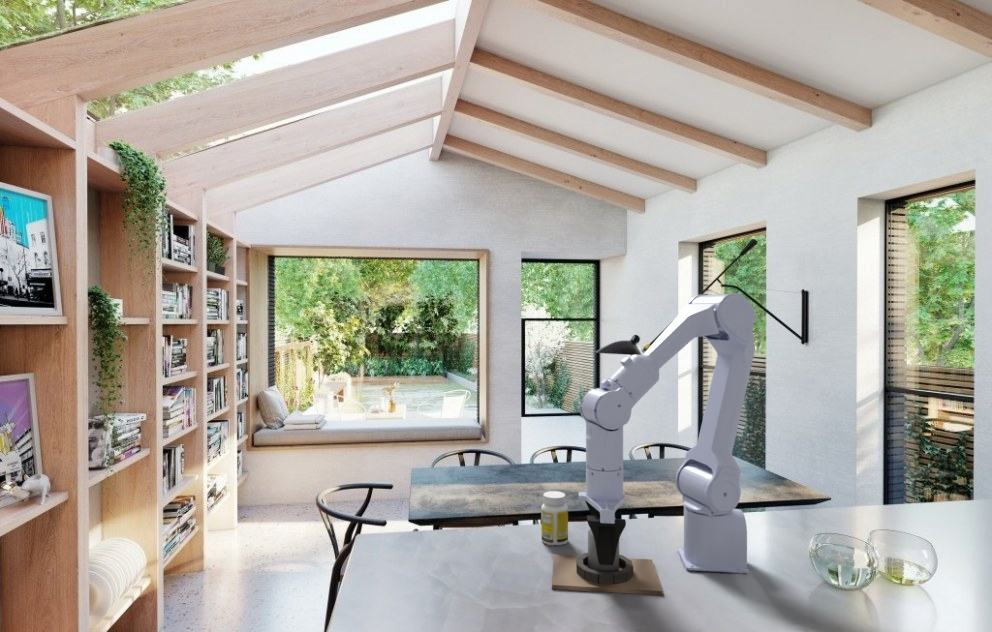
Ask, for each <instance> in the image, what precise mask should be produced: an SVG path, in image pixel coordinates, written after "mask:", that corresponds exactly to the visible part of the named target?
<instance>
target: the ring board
mask: <svg viewBox="0 0 992 632" xmlns="http://www.w3.org/2000/svg"><path fill="white" fill-rule="evenodd" d="M552 561H553V562H552V575H551V577H552V578H551V589H552V590H562V589H570V590H569V591H580V592H581V591H583V592H599V593H600V592H601V593H614V594H615V593H617V594H620V593H621V594H635V595H637V594H639V595H653V596H664V595H663V594H664V592H663V588H662V584H661V582H660V579H659V576H658V574H657V570H656V567H655V566H654V565H655V564H654V562H653V559H648V558H647V559H646V558H629V557H627V556H625V555H622V554H620V553H619V571H615V572H600V571H596V570H593V569H589V568H588V552H584V553H582V554H580V555H569V554H568V555H565V554H553V560H552Z"/></svg>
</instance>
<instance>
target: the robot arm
mask: <svg viewBox="0 0 992 632" xmlns="http://www.w3.org/2000/svg"><path fill="white" fill-rule="evenodd" d="M756 317H757V312H756V310H755V309H754V308H753V306H752V304H751V303H750V302H749V300H748V299H747V298H746V297H745V296H744V295H742V294H741V293H736V292H731V293H727V294H726V293H725V294H724V293H723V294H708V295H707V294H697V295H695V296H693V297H691V298H690V300H689V301H688V303H686V304H685V305H683V306H682V307H680V309H679V312H678V315H676V317H675V318H674V319H673V320H672V321H671V322H670V324H669V325H667V327H666V328H665V329H664V330H663V331H662V333H660V335H659V336H658V337H657V338H656V339H655V340H654V342H653V343H652V344H651V345H650V346H649V347H648V348H647V349H646V350H645V351H644V353H643V354H631V355H630V356H624V357H623V358H622V359H621V360H620V362H619V363H620V364H621V365H620V366H619V367H618V368H617V369H616V370H615V371H614V372H613V373H612V374H611V375H610V376H609V377H608V378H607V379H606V378H604V379H603V380H602V381H601V382H600V383H599V385H600V387H597V388H593V389H590V390H589V391H588V392H587V393H586V394H585V395H584V397H583V399H582V400H583V401H582V402H581V404H580V405H579V406H578V407H579V412H580V416H581V417H582V418H583V419H584V421H585V424H586V425H585V491H580V492H578V500H579V501H584V502H585V504H586V506H587V508H588V511H589V514H590V515H588V514H587V515H586V519H587V520H586V521H587V525H588V526H589V530H590V529H591V531H592V533H593V536H594V540H595V545H596V552H597V558H598V562H599V564H600V565H613V563H614V560H615V555H616V550H617V545H618V541H619V542H620V538H621V535H622V533H623V531H624V529H625V528H626V526H627V525H626V524H627V521H626V519H625V518H616V515H617V512H618V510H619V509H620V507H621V506H622V505H623V504H624V503H625V494H624V426H625V425H627V424H628V423H629V421H630V419H631V415H632V410H633V407H634V406H635V405H637V403H638V402H639V401H640V400H641V399H642V398H643V397H644V396H645V395H646V394H647V393H648V392H649V391H650V390H651V389H652V388H653V387H654V386H655V385H656V384H657V382H659V380H660V370H661V368H662V367H663V366H665V365H666V364H667V363H668V362H669V361H670V360H671V359H672V358H673V357H675V356H676V355H677V354H678V353H679V352H680V351H681V350H682V349H684V347H686V346H687V345H688V344H689V343H690V342H692V340H694V339H695V338H700V337H703V338H704V339H706V341H708V342H709V343H710V345H711V346H712V348H713V349H714V351H715V352H716V354H717V356H716V360H715V365H714V368H713V374H712V378H711V382H710V386H709V392H708V395H707V400H706V403H705V409H704V412H703V417H702V422H701V425H700V431H699V435H698V440H697V444H696V445H695V446H693V447H692V448H690V449H689V450H688V451H687V452H686V453H685V457H684V460H683V461H682V464H681V465H680V466H679V468H678V469H677V471H676V473H675V478H674V479H675V481H674V482H675V487H676V489H677V491H678V492H679V493H680V494H681V495H682V503H683V547H678V548H677V553H678V555H679V557H680V559H681V561H682V563H683V566H684V567H685V569H686V570H687V571H696V572H698V571H700V572H715V573H717V572H719V573H720V572H721V573H734V574H735V573H737V574H748V573H749V569H748V527H747V520H746V517H745V514H744V512H743V510H742V509H740V508H739V509H738V508H736V507H737V506H738V505H739V502H740V500H741V496H742V495H741V494H742V493H741V489H742V488H741V484H740V476H741V468H740V466H739V465H738V463H737V461H736V459H735V458H734V456H733V450H734V447H735V446H734V445H735V441H736V437H737V433H738V429H739V428H738V427H739V423H740V419H741V414H742V409H743V405H744V401H745V397H746V391H747V387H748V383H749V379H750V373H751V370H752V369H751V368H752V365H753V360H754V356H755V350H756V348H755V347H756V345H755V337H754V330H753V329H754V325H755V321H756Z"/></svg>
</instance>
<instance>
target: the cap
mask: <svg viewBox="0 0 992 632" xmlns="http://www.w3.org/2000/svg"><path fill="white" fill-rule="evenodd" d="M587 553H588V568H589V569H593V570H596V571H600V572H615V571H619V554H620V540H619V541H618V545H617V550H616V555H615V560H614V563H613V565H600V564H599V562H598V558H597V552H596V545H595V540H594V536H593V533H592V531H591V529H590V528H589V530H588V531H587Z"/></svg>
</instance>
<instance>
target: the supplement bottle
mask: <svg viewBox="0 0 992 632" xmlns="http://www.w3.org/2000/svg"><path fill="white" fill-rule="evenodd" d="M566 496H567V495H566V493H565V492H562V491H557V490H556V491H555V490H553V491H545V492H544V493H543V495H542V497H543V498H542V500H543V504H542V505H541V507H540V510H541V512H540V513H541V514H540V519H541V520H540V521H541V523H540V525H541V528H540V529H541V542H542V543H544V544H545V543H546V545H548V546H554V545H557V546H563V544H564V545H566V544H567V543H568V542H569V509H568V508H569V507H568V505H567V504H566V501H567V499H566V498H567V497H566Z"/></svg>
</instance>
